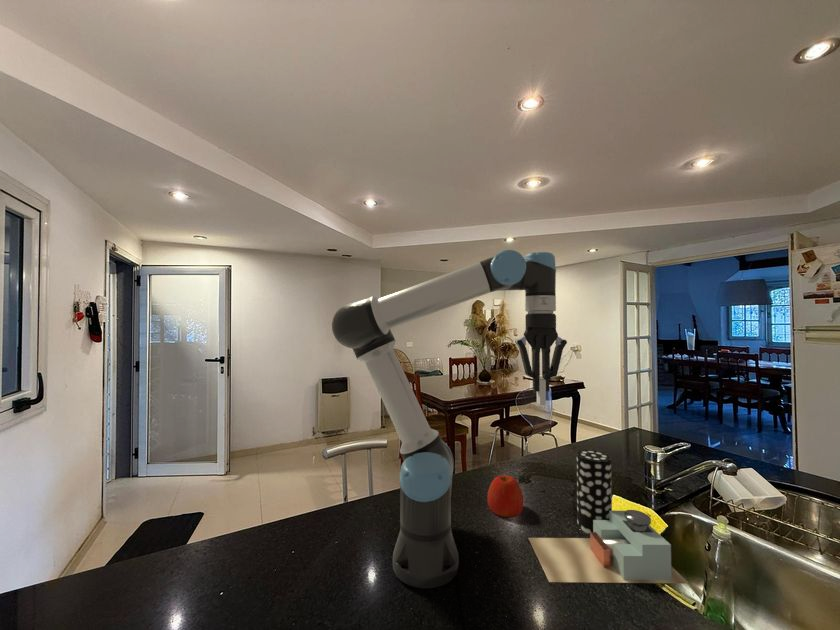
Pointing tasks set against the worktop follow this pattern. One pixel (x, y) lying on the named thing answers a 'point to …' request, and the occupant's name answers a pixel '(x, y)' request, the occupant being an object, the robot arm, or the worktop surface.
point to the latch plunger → (637, 520)
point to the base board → (580, 563)
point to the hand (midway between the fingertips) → (541, 403)
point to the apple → (505, 497)
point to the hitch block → (636, 549)
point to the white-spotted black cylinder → (593, 488)
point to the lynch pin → (604, 548)
